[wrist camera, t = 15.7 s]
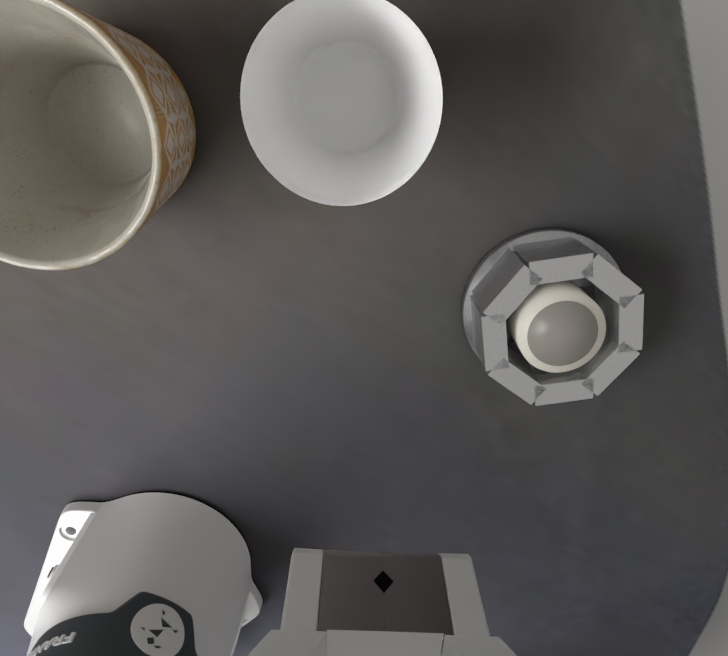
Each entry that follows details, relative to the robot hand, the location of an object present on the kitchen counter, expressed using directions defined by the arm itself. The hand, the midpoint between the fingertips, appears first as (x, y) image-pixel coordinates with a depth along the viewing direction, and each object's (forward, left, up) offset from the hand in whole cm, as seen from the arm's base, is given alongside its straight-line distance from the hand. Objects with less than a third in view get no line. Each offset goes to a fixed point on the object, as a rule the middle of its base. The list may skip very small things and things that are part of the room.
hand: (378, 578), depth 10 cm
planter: (-5, +16, -31) cm, 36 cm away
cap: (+2, -14, -30) cm, 33 cm away
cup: (+5, +5, -31) cm, 32 cm away
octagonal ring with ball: (+2, -14, -31) cm, 34 cm away
